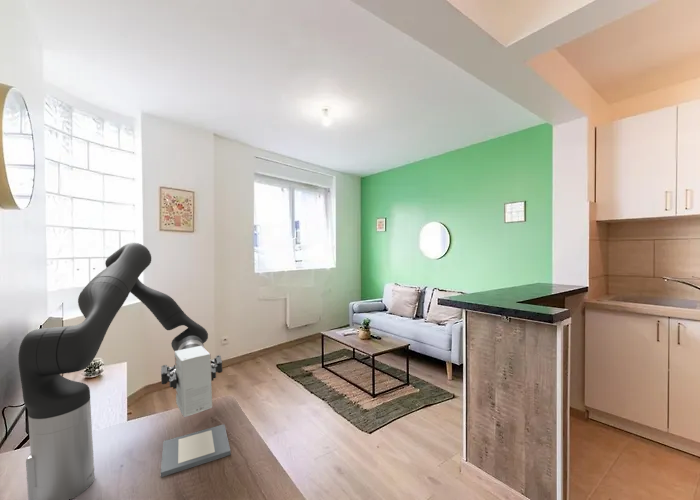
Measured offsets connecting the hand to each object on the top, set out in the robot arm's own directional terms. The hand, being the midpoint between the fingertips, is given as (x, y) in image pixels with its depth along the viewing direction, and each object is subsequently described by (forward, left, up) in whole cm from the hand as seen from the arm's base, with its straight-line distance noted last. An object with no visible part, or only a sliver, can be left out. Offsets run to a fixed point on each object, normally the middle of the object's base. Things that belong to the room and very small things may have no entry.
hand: (193, 380), depth 73 cm
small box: (0, +2, -7) cm, 8 cm away
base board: (0, +2, -18) cm, 18 cm away
